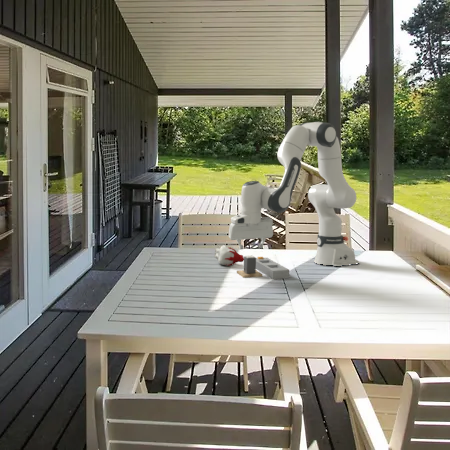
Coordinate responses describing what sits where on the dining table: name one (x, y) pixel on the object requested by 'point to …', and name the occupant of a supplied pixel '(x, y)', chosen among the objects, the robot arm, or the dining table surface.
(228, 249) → the white red lumpy piece
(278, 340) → the dining table surface
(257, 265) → the power strip
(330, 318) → the dining table surface
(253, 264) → the block
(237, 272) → the cork coaster
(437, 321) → the dining table surface
